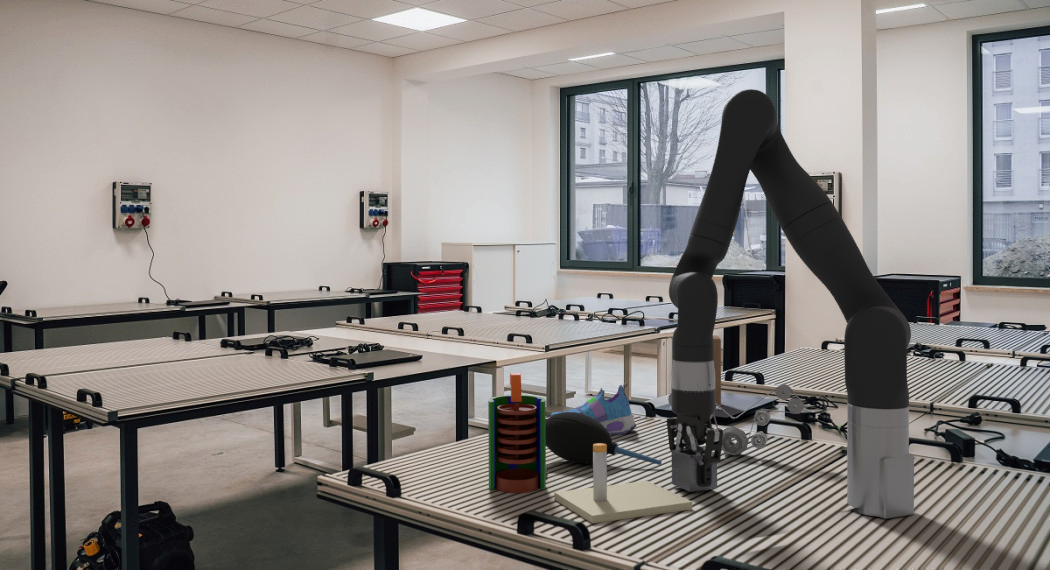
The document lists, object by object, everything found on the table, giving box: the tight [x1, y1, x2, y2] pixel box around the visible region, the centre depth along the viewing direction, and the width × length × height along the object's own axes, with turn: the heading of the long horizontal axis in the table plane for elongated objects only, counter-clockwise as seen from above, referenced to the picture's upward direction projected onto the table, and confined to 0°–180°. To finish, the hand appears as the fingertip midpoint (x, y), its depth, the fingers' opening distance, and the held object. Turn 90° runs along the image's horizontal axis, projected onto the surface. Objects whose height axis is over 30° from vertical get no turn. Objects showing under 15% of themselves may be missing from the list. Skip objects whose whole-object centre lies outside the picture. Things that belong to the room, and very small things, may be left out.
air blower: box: [546, 411, 662, 466], centre depth 162 cm, size 10×25×10 cm, turn 70°
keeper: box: [553, 443, 693, 524], centre depth 135 cm, size 14×18×10 cm
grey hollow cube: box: [671, 448, 718, 493], centre depth 143 cm, size 6×6×6 cm
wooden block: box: [713, 334, 722, 407], centre depth 219 cm, size 10×10×20 cm
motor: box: [487, 372, 547, 494], centre depth 146 cm, size 10×9×20 cm
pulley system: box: [667, 383, 805, 456], centre depth 168 cm, size 27×5×15 cm, turn 67°
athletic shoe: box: [549, 382, 637, 436], centre depth 190 cm, size 7×20×11 cm, turn 96°
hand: (694, 481), depth 143 cm, fingers closed on grey hollow cube, 5 cm apart
